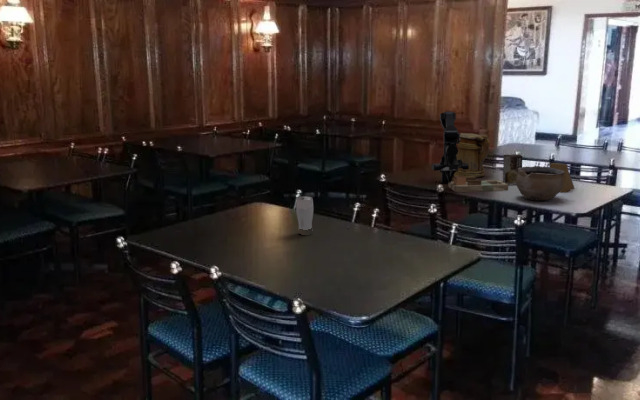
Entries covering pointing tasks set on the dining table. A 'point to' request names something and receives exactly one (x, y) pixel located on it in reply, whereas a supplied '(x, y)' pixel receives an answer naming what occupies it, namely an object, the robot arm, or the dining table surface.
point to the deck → (479, 185)
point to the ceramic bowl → (539, 182)
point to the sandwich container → (564, 176)
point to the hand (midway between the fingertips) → (449, 182)
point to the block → (460, 180)
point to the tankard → (472, 154)
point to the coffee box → (511, 168)
